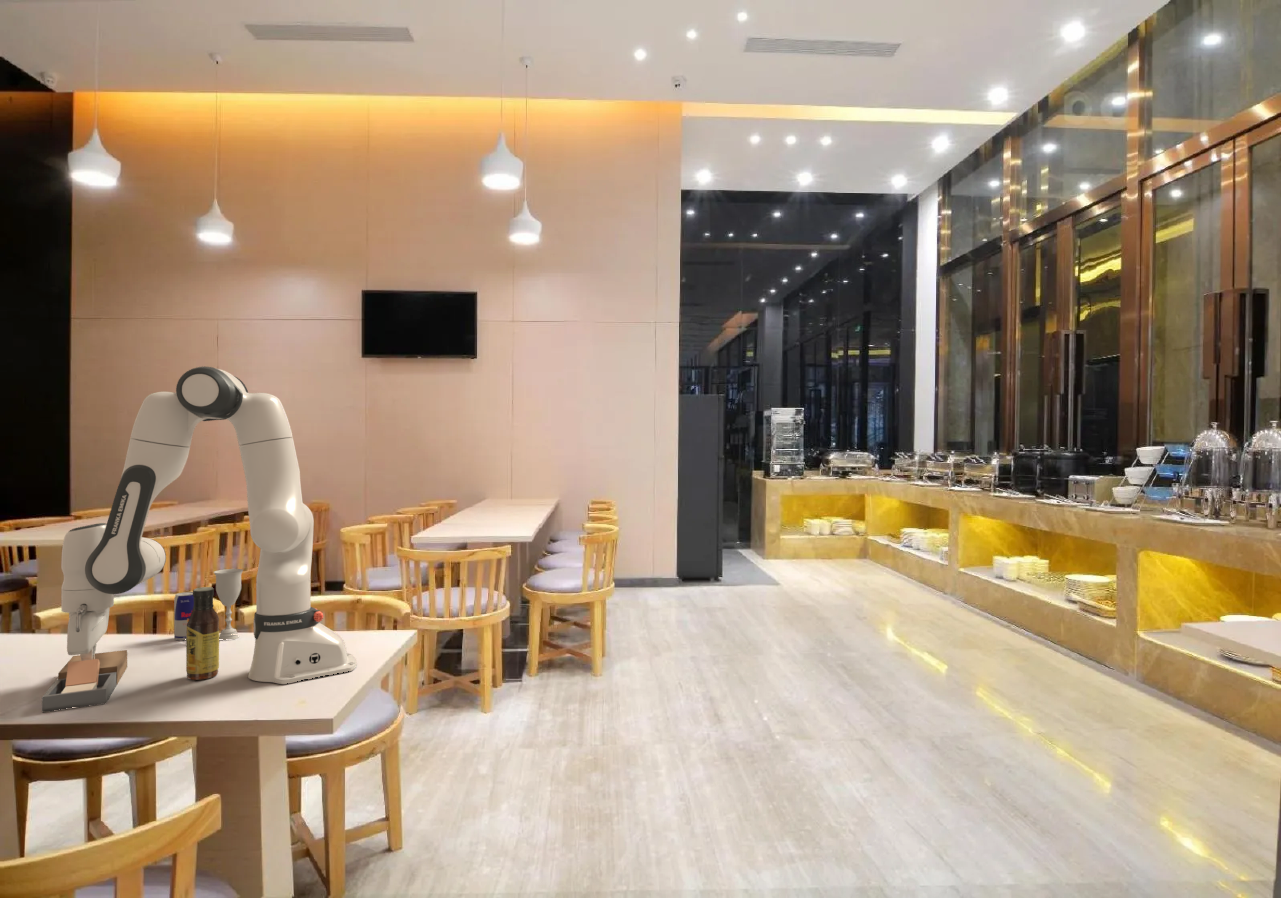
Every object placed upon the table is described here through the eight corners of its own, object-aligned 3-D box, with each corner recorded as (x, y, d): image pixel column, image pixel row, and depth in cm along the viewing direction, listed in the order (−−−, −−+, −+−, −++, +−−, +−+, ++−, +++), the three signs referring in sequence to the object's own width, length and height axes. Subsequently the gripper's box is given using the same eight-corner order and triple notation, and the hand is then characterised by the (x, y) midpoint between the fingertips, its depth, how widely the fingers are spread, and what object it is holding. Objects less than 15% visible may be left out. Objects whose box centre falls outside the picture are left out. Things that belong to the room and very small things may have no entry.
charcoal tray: (116, 686, 153) (116, 672, 153) (106, 703, 142) (105, 688, 142) (57, 693, 148) (57, 679, 148) (42, 712, 137) (42, 697, 137)
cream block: (92, 689, 143) (92, 699, 143) (96, 682, 147) (96, 692, 147) (60, 693, 140) (60, 703, 141) (66, 686, 145) (66, 696, 145)
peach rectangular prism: (99, 662, 151) (98, 658, 150) (97, 685, 148) (95, 681, 147) (70, 666, 149) (68, 662, 147) (67, 689, 146) (65, 685, 145)
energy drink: (186, 641, 188) (186, 596, 188) (169, 640, 189) (169, 595, 189) (202, 636, 193) (202, 592, 193) (186, 635, 194) (186, 591, 194)
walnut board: (127, 667, 166) (127, 650, 166) (117, 684, 154) (117, 666, 154) (73, 673, 161) (73, 656, 161) (58, 692, 149) (58, 673, 149)
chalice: (248, 637, 192) (248, 570, 192) (222, 642, 186) (222, 574, 186) (234, 633, 196) (234, 568, 196) (208, 638, 190) (208, 571, 190)
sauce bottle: (184, 676, 159) (184, 587, 159) (217, 671, 163) (217, 584, 163) (187, 684, 154) (187, 592, 154) (221, 678, 158) (221, 589, 158)
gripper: (96, 608, 144) (96, 676, 144) (114, 590, 162) (114, 651, 162) (57, 611, 141) (57, 681, 141) (79, 593, 159) (79, 655, 159)
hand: (88, 665), depth 151 cm, fingers closed
